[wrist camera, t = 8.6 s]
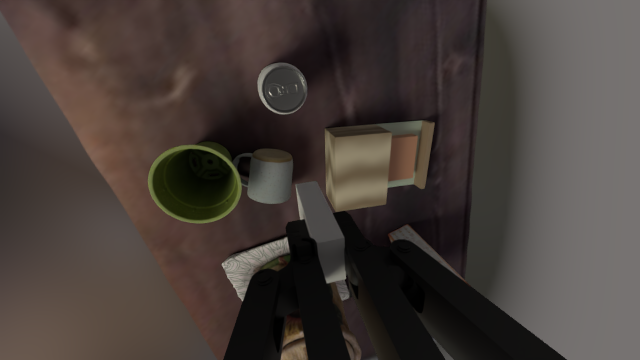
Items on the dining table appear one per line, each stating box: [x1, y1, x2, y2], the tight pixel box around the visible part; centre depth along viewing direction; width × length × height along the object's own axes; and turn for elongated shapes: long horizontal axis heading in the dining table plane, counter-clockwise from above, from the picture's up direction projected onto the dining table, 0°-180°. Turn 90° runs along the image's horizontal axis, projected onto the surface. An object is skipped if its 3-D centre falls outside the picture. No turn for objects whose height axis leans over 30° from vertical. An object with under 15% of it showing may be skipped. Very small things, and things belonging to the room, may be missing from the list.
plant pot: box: [148, 141, 242, 223], centre depth 40 cm, size 12×12×11 cm
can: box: [258, 63, 307, 114], centre depth 37 cm, size 6×6×12 cm
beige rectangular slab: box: [325, 124, 392, 212], centre depth 48 cm, size 14×10×7 cm
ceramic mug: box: [232, 149, 293, 204], centre depth 44 cm, size 11×8×8 cm
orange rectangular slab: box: [388, 134, 418, 181], centre depth 52 cm, size 9×6×2 cm, turn 2°
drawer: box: [375, 120, 435, 189], centre depth 52 cm, size 14×11×3 cm
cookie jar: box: [222, 237, 361, 360], centre depth 46 cm, size 25×25×32 cm
